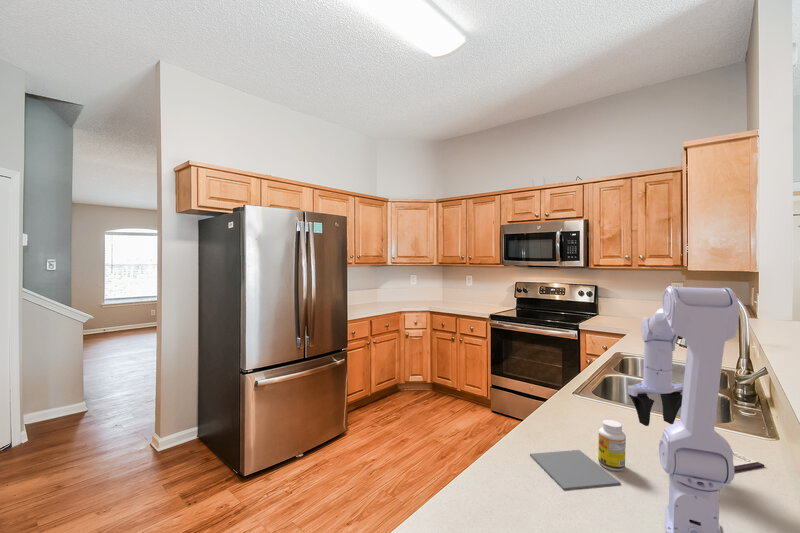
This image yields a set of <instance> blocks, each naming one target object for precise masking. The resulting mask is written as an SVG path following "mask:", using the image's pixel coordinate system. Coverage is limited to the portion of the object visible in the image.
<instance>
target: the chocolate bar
mask: <svg viewBox="0 0 800 533" xmlns="http://www.w3.org/2000/svg"><path fill="white" fill-rule="evenodd" d="M732 451H733V464H734V473H738V472H745V471H751V470H755V469H762V468H765V464H763V463H761V462H759V461H757V460H755V459H752V458H750V457H747V456H746V455H743V454H741V453H739V452H736V451H734V450H732Z"/></svg>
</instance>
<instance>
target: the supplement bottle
mask: <svg viewBox="0 0 800 533" xmlns="http://www.w3.org/2000/svg"><path fill="white" fill-rule="evenodd" d="M622 428H623V425H622V423H621V422H619V421H616V420H613V419H604V420H602V427H600V428H599V430H598V456H597V457H598V458H597V459H598V460H597V461H598V463H599V465H601V466H602V468H604V469H605V468H606V469H607V470H610V471H614V472H621V471H623V470H625V468H626V448H627V447H626V439H627V437H626V434H625V433H624V432H623V429H622Z"/></svg>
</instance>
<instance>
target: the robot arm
mask: <svg viewBox="0 0 800 533" xmlns="http://www.w3.org/2000/svg"><path fill="white" fill-rule="evenodd" d="M740 307H741V306H740V302H739V300H738V297H737V295H736V292H735V291H733V290H732V289H731V288H730V287H722V288H719V287H693V286H692V287H689V286H684V287H683V286H673V285H668V286H667V287H666V288H665V289H663V293H662V298H661V308H658V309H657V310H656V311H655V312H654V313H653V315H652V316H651V317H648V316H644V317H643V318H642V319H641V322H640V323H641V324H640V334H641V338H642V341H643V371H642V372H643V374H642V376H643V377H642V378H643V379H642V380H641V381H640V382H639V383H635V384H631V385H627V394H628V395H629V397H630V399H631V401H632V402H633V405H634V407H635V410H636V413H637V418H638V421H639V424H641V425H643V426H645V427H649V426H650V423H651V422H650V421H651V413H652V412H651V411H652V409H653V408H652V407H653V406H654V403H655V400H654V399H652V398H650V397H649V396H648V395H660V398H661V403H662V417H663V421H664V422H665V423H668V424H669V425H668V426H666V427H664V428H663V431H662V435H661V439H660V440H659V443H658V456H659V461H660V462H659V463H660V465H661V468H662V469H663V470H664V471H665V473H666V474H669V476H668V477H669V478H668V479H669V480H668V481H669V484H668V504H665V533H722V530H721V525H720V494H721V493H720V492H721V490H722V491H724V490H725V485H729V484H731V483H732V482H733V481H734V478H735V472H734V464H733V451H734V450H733V449H732V447H731V445H730V443H729V442H728V440H727V439H726V438H725V437H724V436H723V435H721V434H720V433H719V432H717V431H716V430H715V426H716V417H717V408H718V402H719V401H718V400H719V393H720V392H719V391H720V383H721V377H722V376H721V374H722V373H721V372H722V364H723V357H724V351H725V344H726V342H727V341H730V340H732V339H734V338H737V337H736V336H737V331H738V327H739V320H740V319H739V318H740V317H739V316H740V309H741V308H740ZM678 337H680V338H683V339H684V340H685V342H686V344H687V345H686V355H685V356H686V357H685V368H684V376H683V383H680V382H677V383H675V382H673V358H674V357H673V354H674V352H675V350H676V343H677V340H678ZM679 411H680V417H679V418H680V420H679V421H677V422H675V420H676V419H677V418H676V417H677V415H678V412H679Z"/></svg>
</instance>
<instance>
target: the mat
mask: <svg viewBox="0 0 800 533" xmlns="http://www.w3.org/2000/svg"><path fill="white" fill-rule="evenodd" d="M529 456H530V457H531V458H532V459H533V461H534V462H536V463H537V464H538V465H539V466H540V467H541V469H543V470H544V471H545V473H547V475H549V477H550V478H551V479H552V480H553V481H554V482H555V483H556V484H557V485H558V486H559V487H560V488H561V490H563V491H568V490H577V489H586V488H588V489H589V488H597V487H599V488H600V487H608V486H617V485H621V482H620V480H618V479H616V478H615V476H613V475H612V474H610V473H609V472H608V471H606V470H605V468H604V467H603V466H602V467H601V466H600V464H598V463H597V462H595V461H594V460H593V459H592V458H590V457H589V456H588V455H587V454H585V453H584V452H583V451H581V450H580V449H575V450H561V451H549V452H538V453H537V452H535V453H530V454H529Z"/></svg>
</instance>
